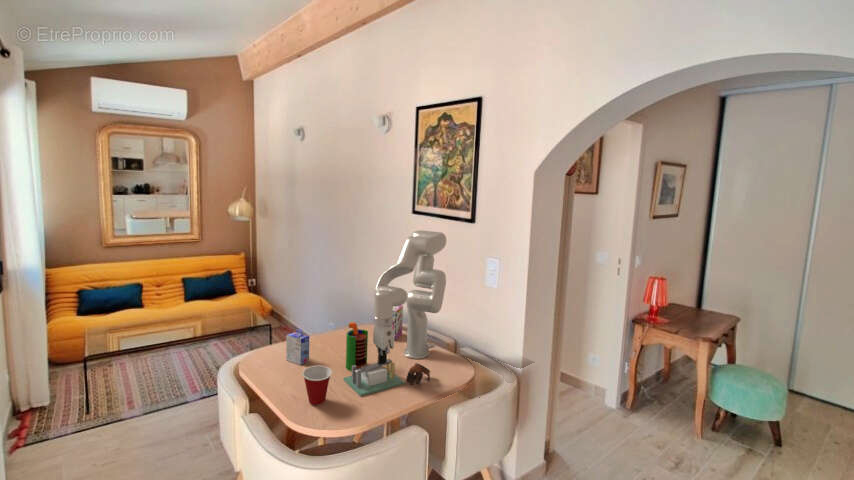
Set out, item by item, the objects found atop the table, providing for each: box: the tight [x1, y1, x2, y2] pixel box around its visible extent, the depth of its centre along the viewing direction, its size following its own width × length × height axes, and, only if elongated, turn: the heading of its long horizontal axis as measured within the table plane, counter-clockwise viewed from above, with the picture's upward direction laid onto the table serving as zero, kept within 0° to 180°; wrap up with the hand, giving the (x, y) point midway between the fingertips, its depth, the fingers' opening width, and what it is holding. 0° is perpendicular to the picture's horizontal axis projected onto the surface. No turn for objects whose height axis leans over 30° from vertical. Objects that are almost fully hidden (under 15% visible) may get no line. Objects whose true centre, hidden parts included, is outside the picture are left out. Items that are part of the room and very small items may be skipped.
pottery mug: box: [405, 362, 431, 386], centre depth 178 cm, size 12×10×8 cm
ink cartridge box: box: [285, 328, 310, 366], centre depth 194 cm, size 10×6×14 cm, turn 59°
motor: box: [345, 321, 369, 372], centre depth 190 cm, size 10×9×20 cm
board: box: [343, 357, 406, 397], centre depth 177 cm, size 20×16×8 cm
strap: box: [354, 358, 393, 373], centre depth 176 cm, size 16×3×1 cm, turn 125°
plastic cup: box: [301, 365, 333, 406], centre depth 159 cm, size 11×11×12 cm
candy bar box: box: [392, 305, 404, 342], centre depth 226 cm, size 11×5×16 cm, turn 165°
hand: (382, 363), depth 178 cm, fingers closed
